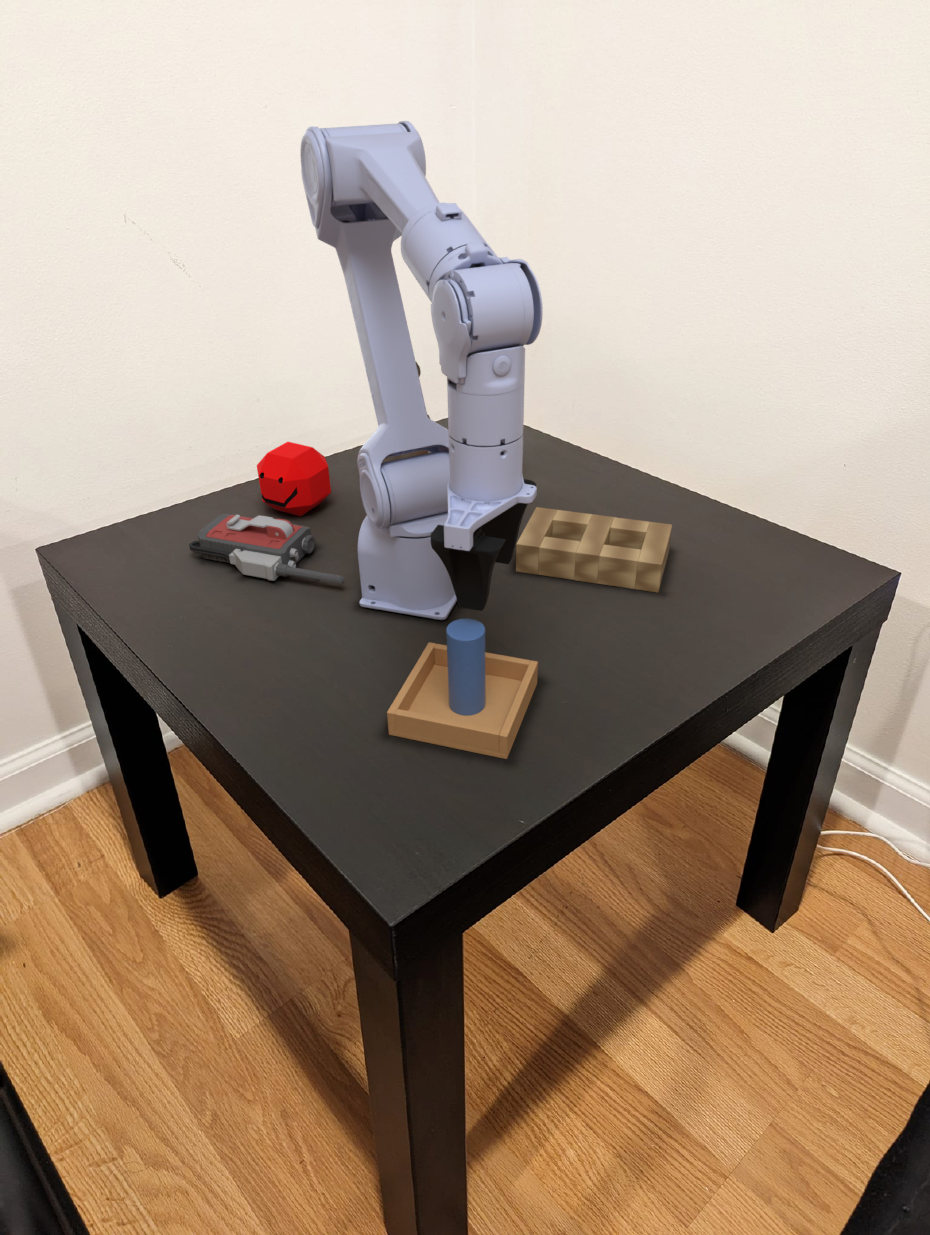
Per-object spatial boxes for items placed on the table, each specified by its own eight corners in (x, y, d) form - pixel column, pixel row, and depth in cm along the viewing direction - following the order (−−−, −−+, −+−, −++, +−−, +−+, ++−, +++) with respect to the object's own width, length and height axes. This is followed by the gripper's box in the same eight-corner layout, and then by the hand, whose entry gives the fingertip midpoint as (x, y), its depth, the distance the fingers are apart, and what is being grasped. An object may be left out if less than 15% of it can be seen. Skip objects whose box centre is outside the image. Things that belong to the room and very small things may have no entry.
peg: (443, 711, 75) (441, 636, 71) (455, 689, 78) (453, 615, 73) (479, 718, 74) (478, 643, 70) (489, 696, 77) (489, 621, 72)
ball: (252, 513, 108) (242, 455, 104) (293, 487, 114) (285, 432, 109) (303, 527, 104) (295, 468, 100) (342, 500, 110) (336, 444, 106)
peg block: (515, 571, 95) (516, 543, 93) (535, 533, 102) (536, 506, 100) (658, 593, 91) (662, 564, 89) (668, 551, 98) (672, 524, 96)
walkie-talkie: (179, 567, 97) (340, 597, 92) (171, 532, 95) (336, 560, 89) (222, 531, 104) (374, 557, 98) (215, 497, 102) (372, 522, 96)
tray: (388, 734, 74) (386, 712, 72) (429, 663, 82) (428, 641, 80) (506, 759, 71) (507, 736, 70) (537, 683, 79) (538, 661, 78)
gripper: (510, 478, 60) (507, 638, 67) (559, 404, 71) (552, 549, 79) (414, 465, 61) (422, 623, 69) (476, 395, 73) (477, 537, 80)
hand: (486, 583), depth 74 cm, fingers open, 7 cm apart
